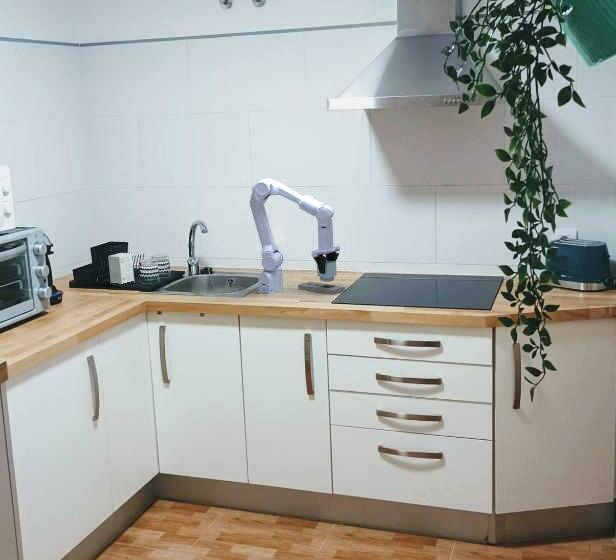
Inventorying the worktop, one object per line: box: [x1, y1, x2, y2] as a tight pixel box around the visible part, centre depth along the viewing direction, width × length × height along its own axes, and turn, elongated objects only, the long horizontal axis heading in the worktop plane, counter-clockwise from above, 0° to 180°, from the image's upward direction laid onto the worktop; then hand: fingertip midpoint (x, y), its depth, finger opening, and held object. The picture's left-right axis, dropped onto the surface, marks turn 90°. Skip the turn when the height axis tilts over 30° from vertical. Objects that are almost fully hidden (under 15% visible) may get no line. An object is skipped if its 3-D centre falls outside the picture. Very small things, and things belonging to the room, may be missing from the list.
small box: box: [107, 252, 135, 284], centre depth 339 cm, size 8×6×13 cm
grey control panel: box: [297, 281, 346, 296], centre depth 312 cm, size 7×18×3 cm, turn 48°
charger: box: [316, 260, 337, 283], centre depth 309 cm, size 5×6×8 cm
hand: (326, 272), depth 309 cm, fingers closed on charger, 5 cm apart
